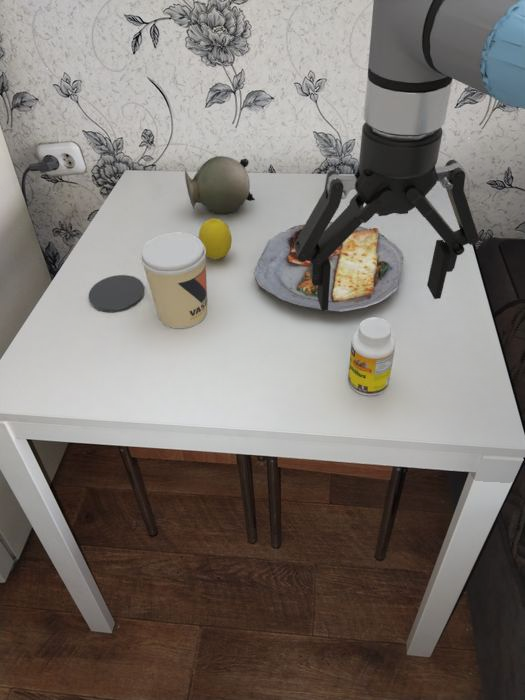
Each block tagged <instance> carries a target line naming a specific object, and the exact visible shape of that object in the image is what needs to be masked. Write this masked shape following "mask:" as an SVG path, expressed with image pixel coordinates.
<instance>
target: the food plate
mask: <svg viewBox="0 0 525 700" xmlns="http://www.w3.org/2000/svg"><path fill="white" fill-rule="evenodd" d="M333 222H334V221H330V223H329V224H328V226H327V228H328V227H329V226H330V225H331V224H332V223H333ZM305 224H306V223H304V224H299V225H295V226H292V227H290V228H289V229H286V230H285V231H283V232H281V231H280V232H279V233H278V234H277V235H275V236H274V237H272V238H270V239H269V240H268V241H267V243H266V245H265V247H264V249H263V251H262V253H261V255H260V258H259V259H258V261H257V263H256V266H255V268H254V272H253V274H254V278H255V280H256V282H257V284H258V285H259V287H261V288H262V289H263V290H265V291H266V292H267V293H271V294H272V295H273V296H275V297H276V298H278V299H280V300H282V301H284V302H287V303H289V304H294V305H296V306H300V307H305V308H309V309H315V310H318V311H320V310H321V307H320V304H319V300H318V297H317V292H318V285H317V286H313V284H312V281H311V278H310V261H305V262H300V261H299V260H298V259H297V255H296V251H295V248H294V243H295V241H296V240H297V238H298V236H299V234H300V233H301V231H302V229H303V227H304V226H305ZM327 228H326V229H327ZM326 229H325V230H326ZM404 258H405V256H404V254H403V251H402V250H401V249H400V248H399V247H398V246H397V245H396V244H395V243H394V242H392V241H390V240H389V239H388V238H387V237H385V235H383V234H381V233H380V230H379V228H378V227H373V228H366V227H364V226H361V225H360V226H359V227H358V228H357V229H356V230H355V231H354V232H353V233H352V234H351V235H350V236H349V237H348V238H347V239H346V240H345V241H344V242H343V243H342V244H341V245H340V246H339V247H338V248H337V249H336V250H335V251H334V253H333V254H332V255H331V256H330V257H329V258H328V259H329V261H330V264H331V271H330V286H329V302H328V310H327V311H331V312H350V311H353V310H358V309H359V310H360V309H363V308H369V307H371V306H374V305H376V304H378V303H381V302H382V301H384V300H386V299H387V298H389V297H390V296H391V295H393V294H394V293H395V292H397V290H398V288H399V286H400V280H401V275H402V270H403V264H404Z"/></svg>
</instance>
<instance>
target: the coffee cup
mask: <svg viewBox="0 0 525 700" xmlns="http://www.w3.org/2000/svg"><path fill="white" fill-rule="evenodd" d="M206 257H207V256H206V249H205V246H204V244H203V243H202V242H201V240H200V239H199V237H197V236H196V235H194V234H191V233H188V232H182V231H172V232H166V233H162V234H158V235H156V236H154V237H152V238H150V239H149V240H148V241H147V242H146V243H145V244H144V245H143V247H142V250H141V253H140V261H141V264H142V266H143V269H144V272H145V276H146V279H147V283H148V286H149V289H150V293H151V296H152V299H153V303H154V307H155V310H156V312H157V316H158V318H159V320H160V321H161V322H162V324H163V325H165V326H166V327H168V328H173V329H187V328H192V327H194V326H197V325H198V324H200V323H201V322H202V321H204V319H205V318H206V316H207V313H208V285H207V266H206V265H207V264H206V261H207V260H206Z"/></svg>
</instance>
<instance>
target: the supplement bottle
mask: <svg viewBox="0 0 525 700" xmlns="http://www.w3.org/2000/svg"><path fill="white" fill-rule="evenodd" d="M395 349H396V338H395V337H394V335H393V334H392V326H391V324H390V323H389V322H388V321H387V320H386V319H383V318H381V317H373V316H372V317H367V318H365V319H363V320H362V321H361V322H360V324H359V326H358V329H357V330H356V331H355V332H354V333H353V335H352V336H351V342H350V351H349V352H350V353H349V362H348V363H349V364H348V372H347V373H348V374H347V380H348V381H347V382H348V384H349V386H350V387H351V388H352V390H353V391H355V392H356V393H358V394H359V395H360V394H361V395H363V396H376V395H380V394H382V393H383V392H384V391H385V390H387V388H388V386H389V383H390V379H391V374H392V373H391V372H392V368H393V362H394V356H395Z"/></svg>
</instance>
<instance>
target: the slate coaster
mask: <svg viewBox="0 0 525 700" xmlns="http://www.w3.org/2000/svg"><path fill="white" fill-rule="evenodd" d="M144 285H145V284H144V283H143V282H142V281H141V280H140V279H139V278H137V277H135V276H132V275H128V274H118V275H111V276H108V277H105V278H103V279H101V280H99V281H98V282H96V283H95V284H94V285H92V287H91V288H90V290H89V292H88V300H89V303H90V305H91V306H92V307H93V308H94V309H95V310H98V311H100V312H104V313H118V312H119V313H120V312H123V311H127V310H129V309H131V308H134V306H135V307H136V305H137V304H139V302H141V301H142V300H143V298H144V296H145V293H146V290H145V286H144Z"/></svg>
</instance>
